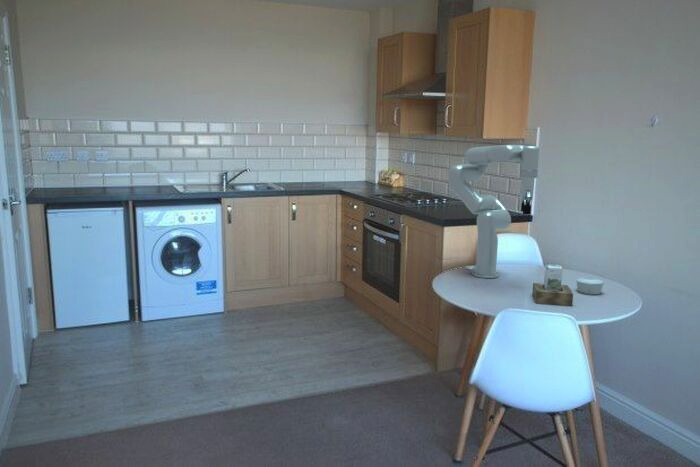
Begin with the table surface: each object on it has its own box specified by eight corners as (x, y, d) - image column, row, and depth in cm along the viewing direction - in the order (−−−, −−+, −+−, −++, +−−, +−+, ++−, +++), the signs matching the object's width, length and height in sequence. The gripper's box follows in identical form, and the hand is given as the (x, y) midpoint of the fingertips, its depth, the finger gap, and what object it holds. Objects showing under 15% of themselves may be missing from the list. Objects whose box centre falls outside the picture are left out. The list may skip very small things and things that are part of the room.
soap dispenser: (556, 298, 246) (559, 264, 244) (559, 302, 241) (562, 267, 238) (542, 297, 247) (545, 263, 244) (545, 301, 241) (548, 267, 239)
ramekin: (595, 289, 263) (596, 277, 262) (607, 295, 252) (608, 284, 251) (571, 288, 263) (572, 277, 262) (581, 295, 252) (582, 283, 251)
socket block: (535, 303, 238) (536, 291, 237) (532, 294, 252) (533, 282, 251) (572, 305, 235) (573, 293, 235) (566, 296, 249) (567, 285, 248)
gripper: (518, 172, 266) (515, 210, 269) (521, 175, 250) (518, 215, 253) (535, 173, 265) (532, 210, 268) (539, 176, 248) (536, 215, 251)
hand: (525, 212), depth 260 cm, fingers open, 9 cm apart
